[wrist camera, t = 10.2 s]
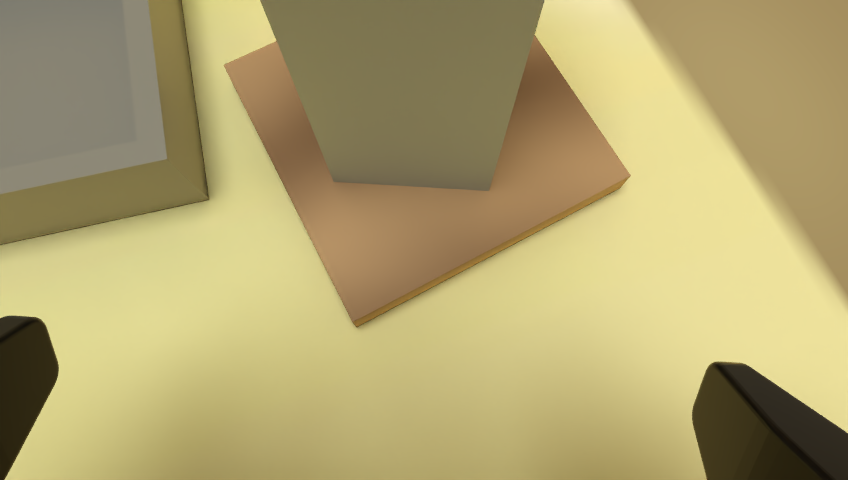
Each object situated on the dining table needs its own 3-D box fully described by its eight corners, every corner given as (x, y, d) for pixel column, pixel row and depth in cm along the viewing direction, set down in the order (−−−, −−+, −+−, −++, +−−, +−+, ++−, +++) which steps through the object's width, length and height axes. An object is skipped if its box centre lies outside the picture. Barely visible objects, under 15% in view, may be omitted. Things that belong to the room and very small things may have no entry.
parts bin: (209, 199, 18) (167, 159, 15) (-129, 272, 17) (-240, 244, 14) (172, -61, 21) (131, -138, 18) (-121, -6, 20) (-213, -76, 17)
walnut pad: (619, 188, 18) (630, 175, 17) (356, 327, 17) (352, 322, 16) (475, -28, 20) (477, -50, 19) (233, 82, 19) (223, 64, 18)
